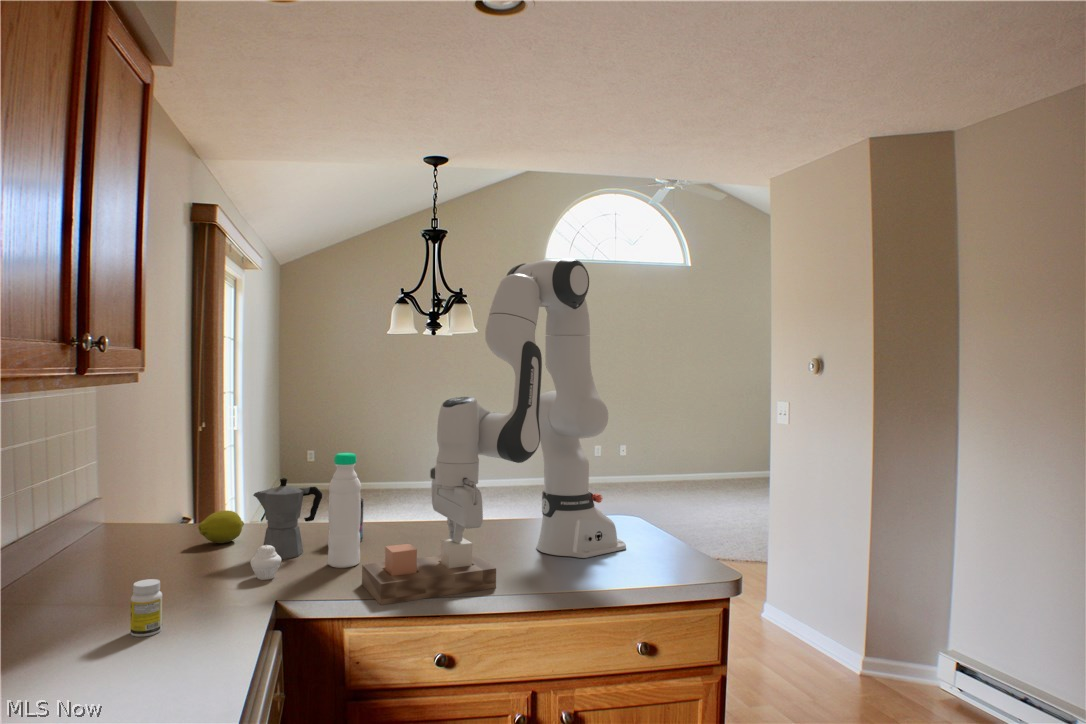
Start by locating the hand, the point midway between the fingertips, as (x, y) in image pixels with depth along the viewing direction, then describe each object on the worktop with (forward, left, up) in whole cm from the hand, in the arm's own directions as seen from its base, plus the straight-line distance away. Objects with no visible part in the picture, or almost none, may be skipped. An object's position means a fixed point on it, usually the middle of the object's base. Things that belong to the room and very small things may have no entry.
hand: (455, 540), depth 152 cm
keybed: (+6, 0, -9) cm, 10 cm away
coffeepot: (+28, -37, -9) cm, 47 cm away
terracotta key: (+12, 0, -5) cm, 13 cm away
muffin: (+35, -20, -9) cm, 41 cm away
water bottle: (+18, -23, -9) cm, 30 cm away
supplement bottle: (+57, +3, -9) cm, 58 cm away
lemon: (+41, -54, -9) cm, 68 cm away
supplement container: (+12, -43, -9) cm, 46 cm away
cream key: (0, 0, -5) cm, 5 cm away
